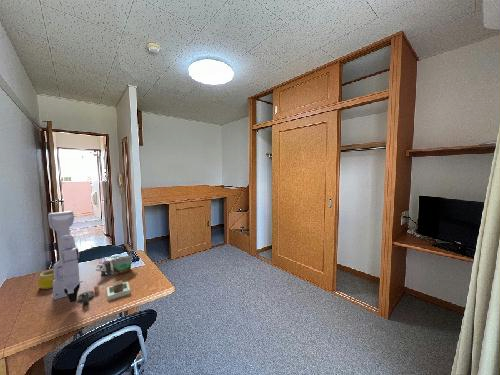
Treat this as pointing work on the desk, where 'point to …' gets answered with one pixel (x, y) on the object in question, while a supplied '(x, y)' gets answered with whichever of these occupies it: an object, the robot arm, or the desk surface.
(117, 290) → the block
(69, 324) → the desk surface
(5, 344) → the desk surface
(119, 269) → the food container
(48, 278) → the mug
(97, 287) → the post
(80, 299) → the crank
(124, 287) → the tray
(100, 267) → the giant panda
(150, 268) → the desk surface
